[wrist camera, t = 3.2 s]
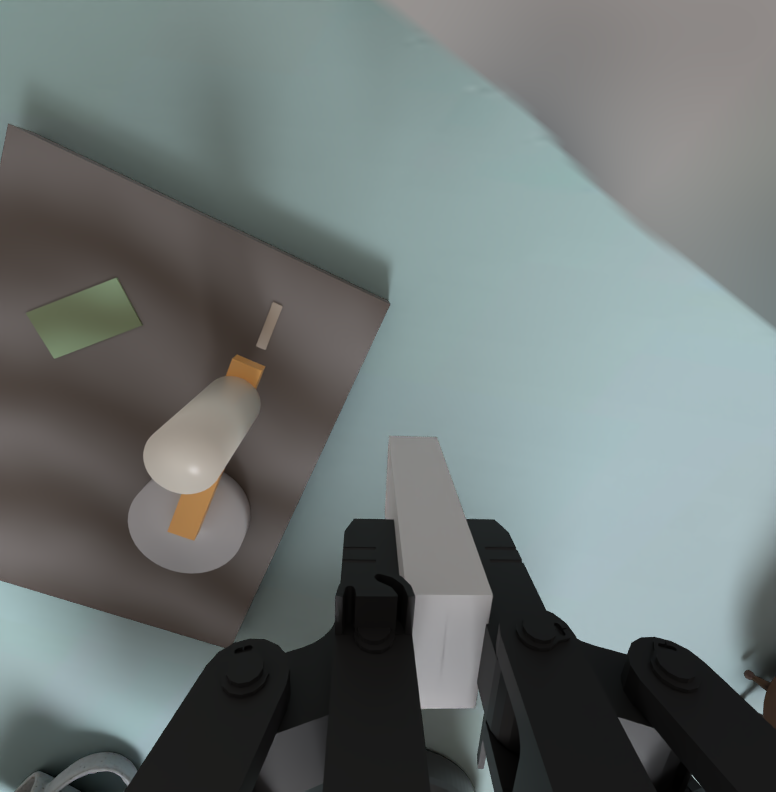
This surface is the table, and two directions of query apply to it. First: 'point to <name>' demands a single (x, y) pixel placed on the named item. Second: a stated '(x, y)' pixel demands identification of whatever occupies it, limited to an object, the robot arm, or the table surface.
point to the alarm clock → (766, 697)
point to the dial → (198, 477)
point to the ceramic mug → (80, 773)
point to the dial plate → (149, 379)
